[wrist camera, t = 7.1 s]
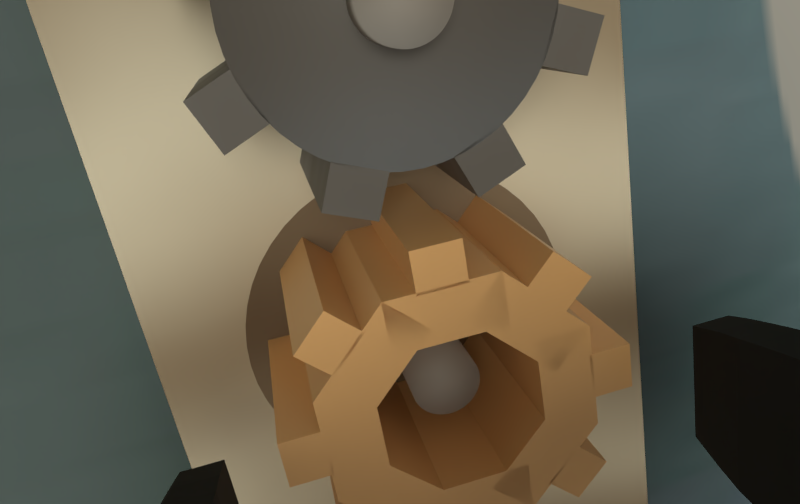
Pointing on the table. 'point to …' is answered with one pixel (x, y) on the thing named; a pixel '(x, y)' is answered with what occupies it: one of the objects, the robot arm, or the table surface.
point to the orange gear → (428, 326)
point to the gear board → (340, 180)
